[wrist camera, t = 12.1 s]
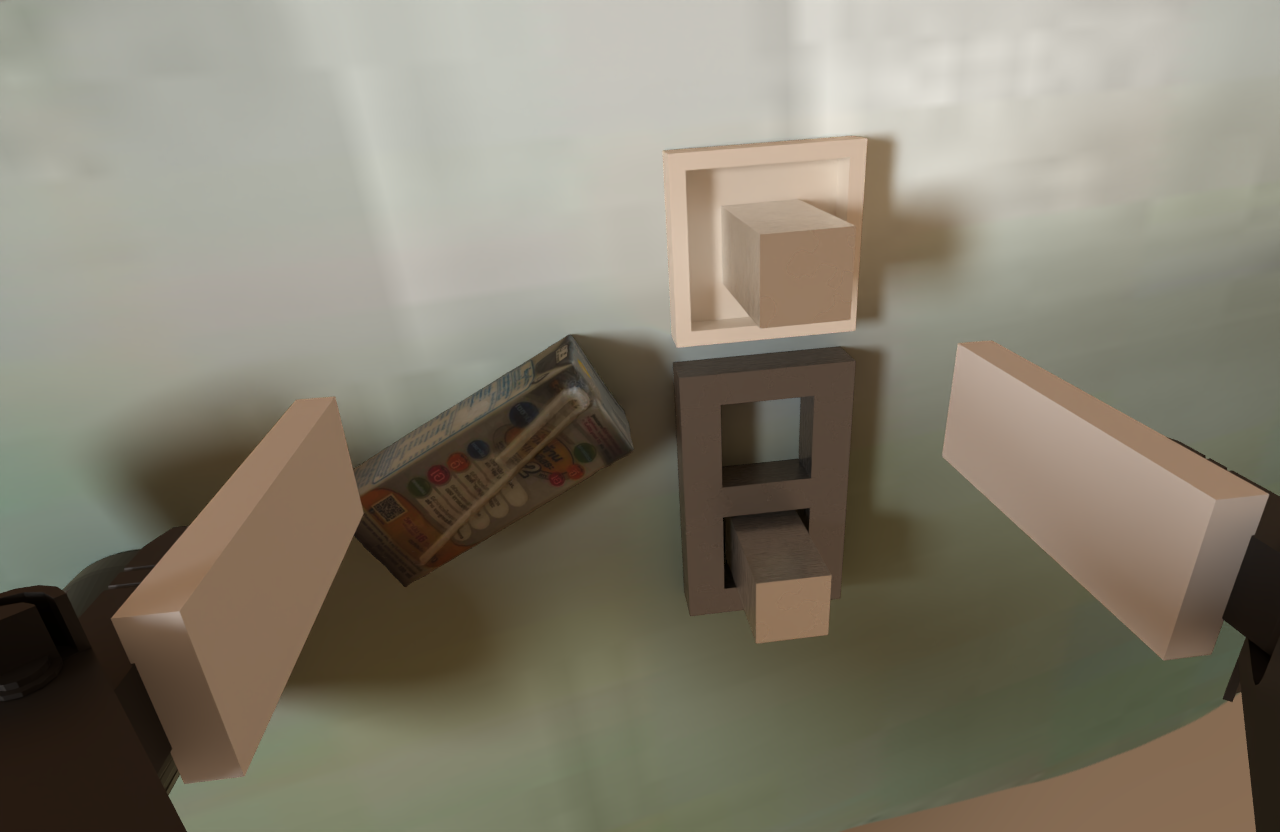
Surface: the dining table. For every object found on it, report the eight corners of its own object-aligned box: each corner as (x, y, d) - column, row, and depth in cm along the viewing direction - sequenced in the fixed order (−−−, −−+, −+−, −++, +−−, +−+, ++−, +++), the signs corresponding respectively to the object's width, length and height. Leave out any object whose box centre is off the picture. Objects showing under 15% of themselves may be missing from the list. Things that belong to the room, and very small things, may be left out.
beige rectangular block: (725, 556, 57) (755, 643, 48) (724, 503, 55) (756, 583, 46) (786, 549, 58) (828, 634, 49) (788, 496, 56) (831, 575, 47)
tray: (671, 335, 49) (676, 347, 47) (662, 150, 44) (667, 153, 42) (841, 319, 50) (855, 330, 48) (851, 135, 45) (867, 138, 43)
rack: (684, 591, 59) (690, 616, 56) (672, 362, 50) (679, 378, 47) (827, 575, 59) (840, 598, 57) (840, 346, 51) (855, 360, 48)
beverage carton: (632, 417, 52) (641, 459, 46) (418, 543, 55) (400, 599, 49) (572, 328, 49) (573, 362, 43) (347, 467, 51) (319, 517, 45)
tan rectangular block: (722, 283, 48) (759, 328, 38) (720, 205, 45) (760, 234, 36) (796, 276, 48) (850, 319, 39) (798, 199, 46) (856, 226, 37)
